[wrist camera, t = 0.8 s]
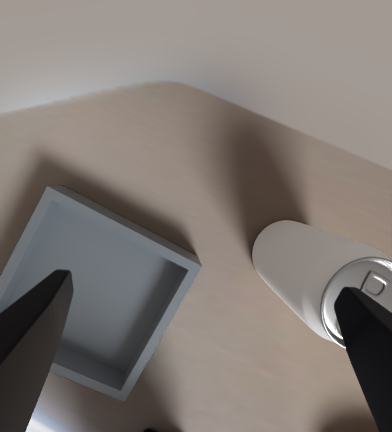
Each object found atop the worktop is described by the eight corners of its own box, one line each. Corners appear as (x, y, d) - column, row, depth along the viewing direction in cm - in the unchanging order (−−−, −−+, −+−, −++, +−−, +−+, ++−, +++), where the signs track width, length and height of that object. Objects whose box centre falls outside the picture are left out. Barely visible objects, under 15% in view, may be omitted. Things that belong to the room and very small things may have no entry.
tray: (129, 377, 28) (124, 402, 25) (-8, 318, 26) (-32, 337, 23) (197, 256, 27) (201, 266, 24) (62, 185, 25) (47, 186, 22)
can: (238, 266, 28) (292, 330, 16) (272, 207, 27) (353, 228, 16) (293, 295, 29) (382, 376, 17) (326, 238, 28) (442, 281, 17)
